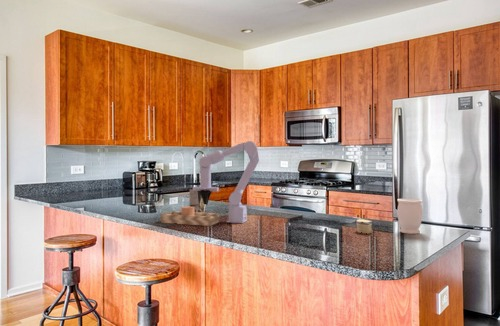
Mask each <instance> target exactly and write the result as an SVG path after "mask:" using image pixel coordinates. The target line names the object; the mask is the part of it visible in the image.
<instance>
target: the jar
mask: <svg viewBox="0 0 500 326" xmlns="http://www.w3.org/2000/svg"><path fill="white" fill-rule="evenodd" d="M396 202H398V205H397V210H396V211H397V213H396V214H397V221H398V226H400V227H399V228H400V229H399V232H400V233H402V234H409V235H417V234H419V233H420V230H419V229H420V228H421V224H422V221H423V220H422V219H423V206H422V203H423V200H422V199H419V198H413V197H412V198H409V197H408V198H407V197H405V198H397V201H396Z"/></svg>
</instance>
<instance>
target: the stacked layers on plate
mask: <svg viewBox="0 0 500 326" xmlns="http://www.w3.org/2000/svg"><path fill="white" fill-rule="evenodd" d="M372 222H373V221H372V220H368V219H362V218H361V219H360V218H359V219H357V220H356V232H357V233H361V232H362V233H361V234H366V233H367V235H369V234H370V233H372V230H373V228H372V226H373V224H372Z"/></svg>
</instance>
